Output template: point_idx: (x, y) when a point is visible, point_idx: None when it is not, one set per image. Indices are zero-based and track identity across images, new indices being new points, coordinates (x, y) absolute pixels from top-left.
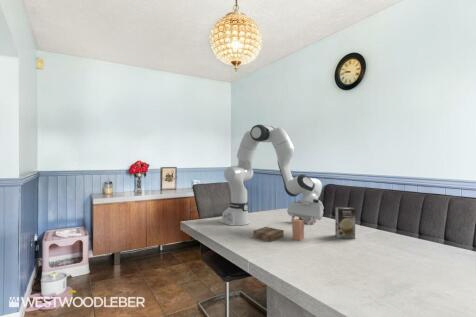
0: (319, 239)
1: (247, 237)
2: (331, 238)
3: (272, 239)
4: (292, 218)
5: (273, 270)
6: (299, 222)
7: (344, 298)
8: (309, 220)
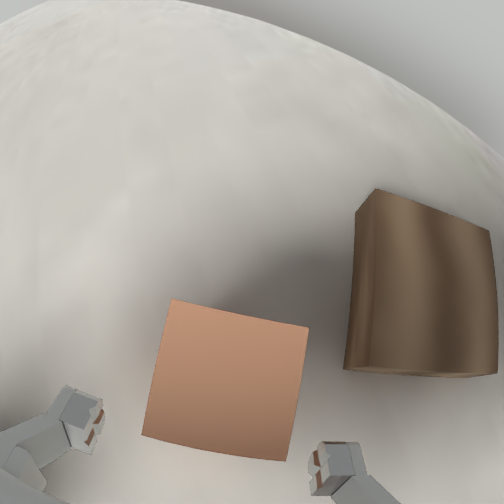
0: None
1: None
2: None
3: (360, 218)
4: (357, 470)
5: (200, 10)
6: (177, 304)
7: (55, 7)
8: (50, 419)
